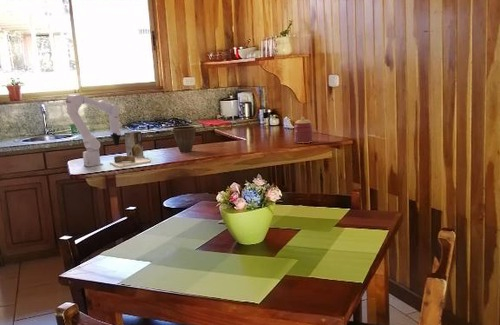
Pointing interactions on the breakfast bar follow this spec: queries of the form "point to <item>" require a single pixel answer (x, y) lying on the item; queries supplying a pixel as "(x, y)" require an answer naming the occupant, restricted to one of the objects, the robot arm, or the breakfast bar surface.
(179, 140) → the plant pot
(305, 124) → the canister
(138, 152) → the coffee box
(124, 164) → the dial board
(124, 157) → the tuning peg
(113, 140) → the robot arm
